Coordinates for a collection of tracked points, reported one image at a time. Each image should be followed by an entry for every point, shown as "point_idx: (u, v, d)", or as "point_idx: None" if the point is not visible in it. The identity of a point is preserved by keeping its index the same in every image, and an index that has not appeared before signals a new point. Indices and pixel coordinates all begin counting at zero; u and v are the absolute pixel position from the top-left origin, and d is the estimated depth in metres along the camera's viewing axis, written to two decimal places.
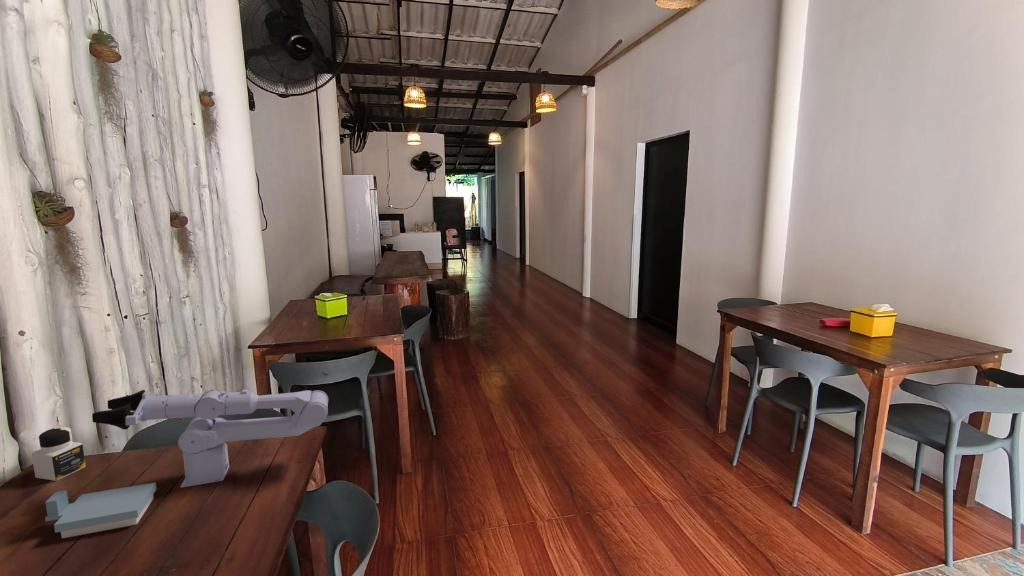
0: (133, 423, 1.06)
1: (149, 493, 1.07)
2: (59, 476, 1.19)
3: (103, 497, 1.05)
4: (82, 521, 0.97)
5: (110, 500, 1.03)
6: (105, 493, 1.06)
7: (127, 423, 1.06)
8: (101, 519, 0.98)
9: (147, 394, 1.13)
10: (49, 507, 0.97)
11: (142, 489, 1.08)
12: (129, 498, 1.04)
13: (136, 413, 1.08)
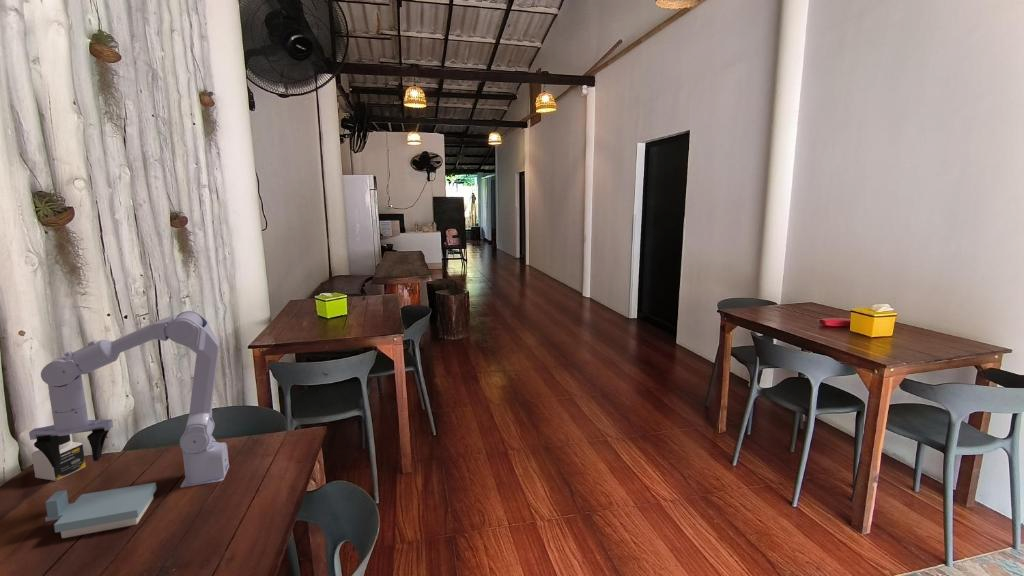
0: (112, 421, 1.10)
1: (149, 493, 1.07)
2: (59, 476, 1.19)
3: (103, 497, 1.05)
4: (82, 521, 0.97)
5: (110, 500, 1.03)
6: (105, 493, 1.06)
7: (112, 425, 1.10)
8: (101, 519, 0.98)
9: (62, 432, 1.03)
10: (49, 507, 0.97)
11: (142, 489, 1.08)
12: (129, 498, 1.04)
13: (100, 425, 1.08)
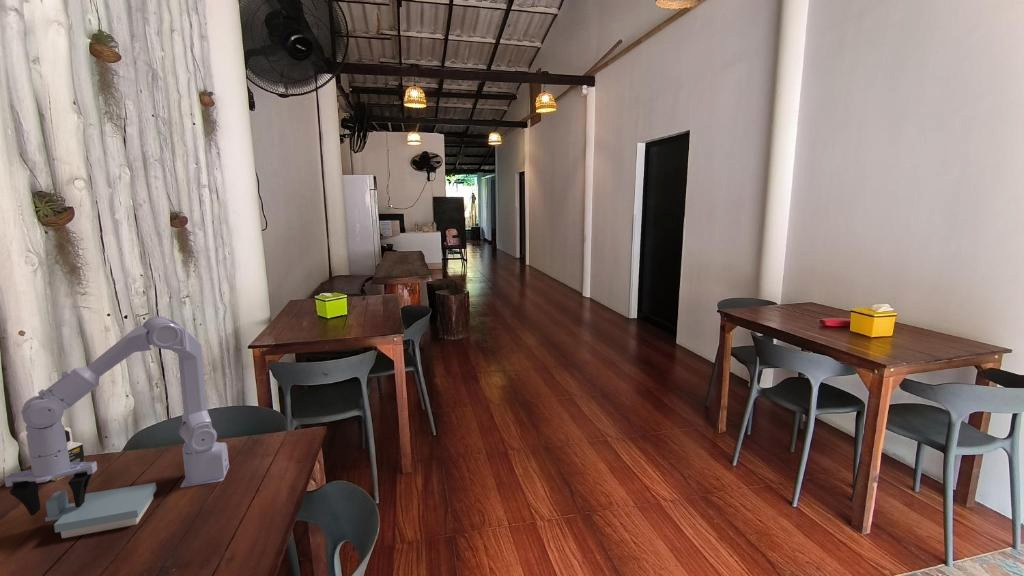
0: (95, 463, 1.02)
1: (149, 493, 1.07)
2: None
3: (103, 497, 1.05)
4: (82, 521, 0.97)
5: (110, 500, 1.03)
6: (105, 493, 1.06)
7: (96, 468, 1.02)
8: (101, 519, 0.98)
9: (40, 478, 0.95)
10: (49, 507, 0.97)
11: (142, 489, 1.08)
12: (129, 498, 1.04)
13: (83, 468, 0.99)
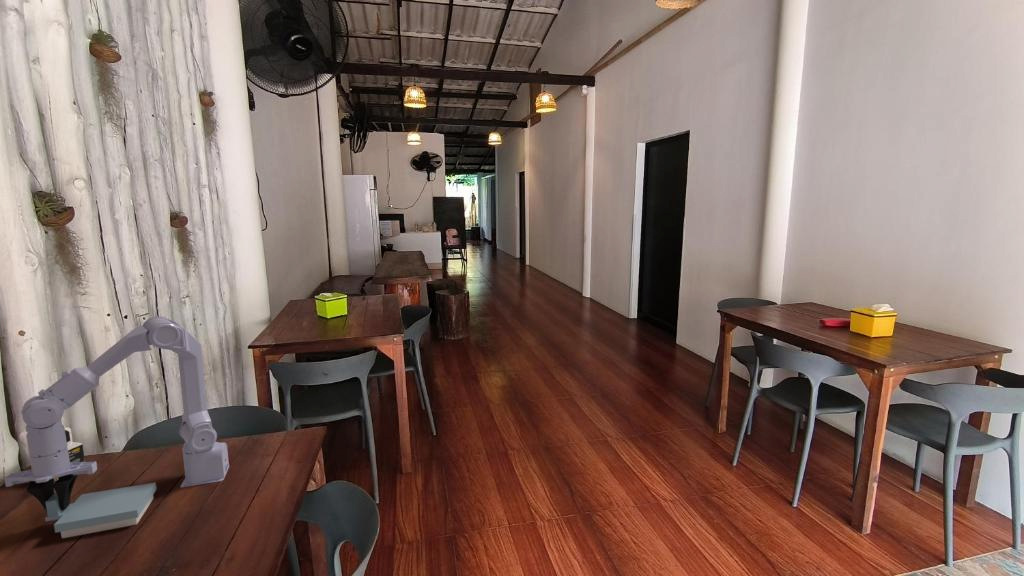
0: (95, 463, 1.02)
1: (149, 493, 1.07)
2: None
3: (103, 497, 1.05)
4: (82, 521, 0.97)
5: (110, 500, 1.03)
6: (105, 493, 1.06)
7: (96, 468, 1.02)
8: (101, 519, 0.98)
9: (40, 478, 0.95)
10: (49, 507, 0.97)
11: (142, 489, 1.08)
12: (129, 498, 1.04)
13: (83, 468, 0.99)
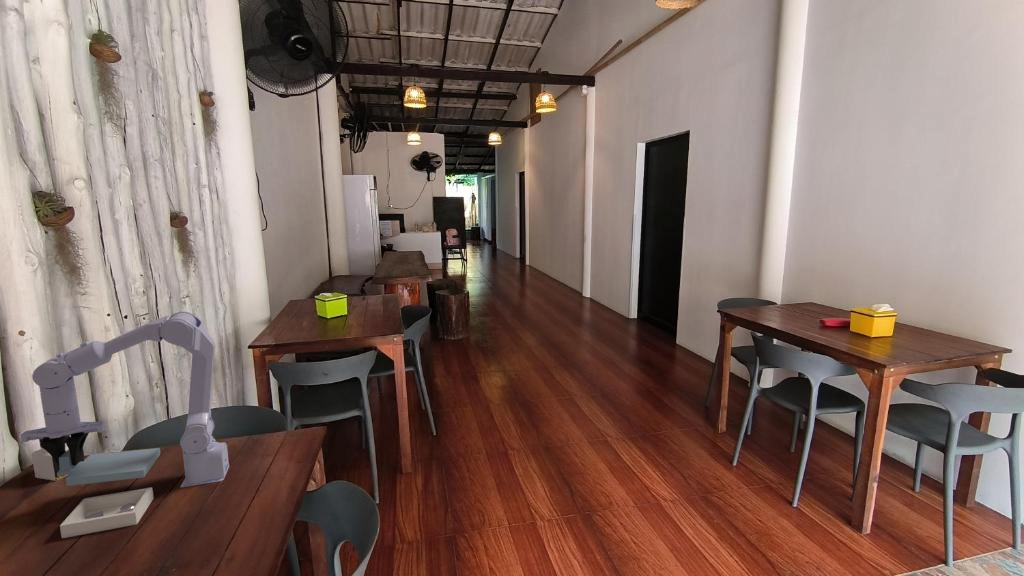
0: (104, 423, 1.09)
1: (154, 457, 1.14)
2: (59, 476, 1.19)
3: (110, 458, 1.12)
4: (92, 477, 1.04)
5: (117, 461, 1.11)
6: (112, 454, 1.13)
7: (105, 427, 1.09)
8: (110, 476, 1.05)
9: (54, 434, 1.02)
10: (61, 462, 1.05)
11: (147, 453, 1.15)
12: (135, 460, 1.12)
13: (93, 427, 1.07)
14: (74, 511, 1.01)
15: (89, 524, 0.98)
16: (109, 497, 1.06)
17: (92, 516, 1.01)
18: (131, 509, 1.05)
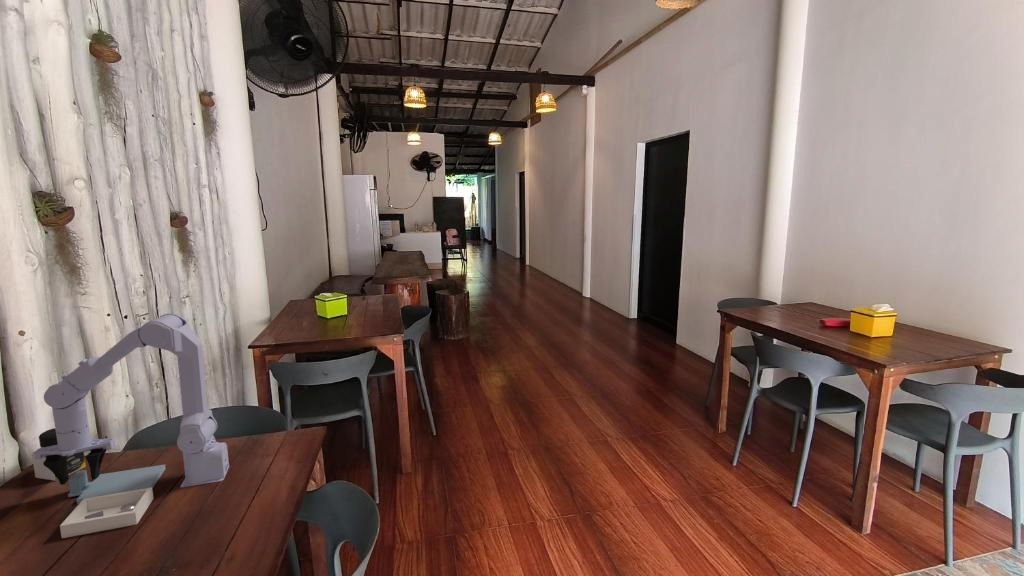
0: (113, 440, 1.14)
1: (159, 473, 1.19)
2: None
3: (118, 476, 1.17)
4: None
5: (125, 479, 1.16)
6: (120, 473, 1.18)
7: (114, 444, 1.14)
8: None
9: (65, 452, 1.07)
10: (71, 484, 1.10)
11: (153, 470, 1.20)
12: (142, 477, 1.17)
13: (102, 444, 1.12)
14: (74, 511, 1.01)
15: (89, 524, 0.98)
16: (109, 497, 1.06)
17: (92, 516, 1.01)
18: (131, 509, 1.05)
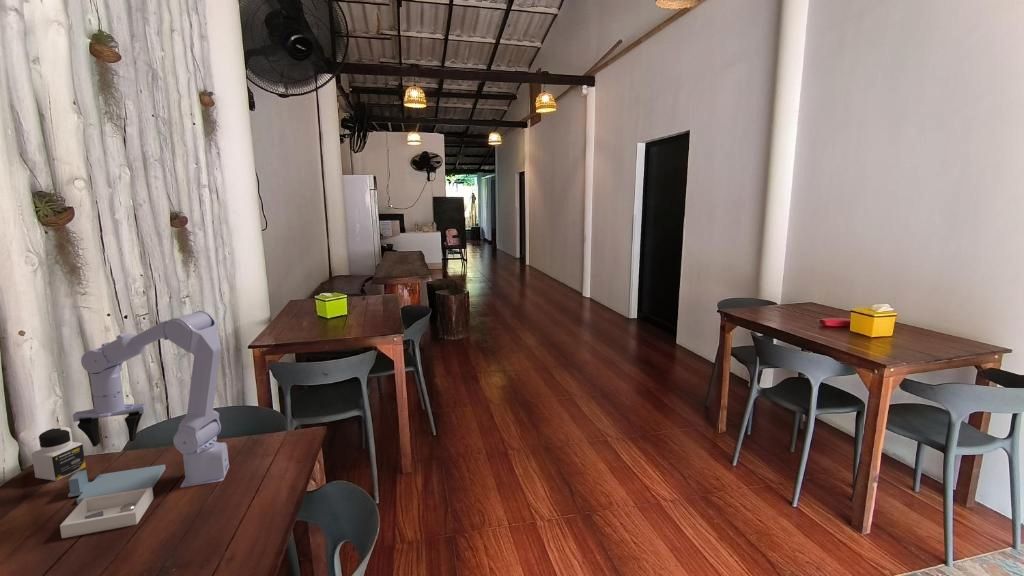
0: (145, 405, 1.21)
1: (159, 473, 1.19)
2: (59, 476, 1.19)
3: (118, 476, 1.17)
4: None
5: (125, 479, 1.16)
6: (120, 473, 1.18)
7: (146, 409, 1.21)
8: None
9: (102, 414, 1.14)
10: (71, 484, 1.10)
11: (153, 470, 1.20)
12: (142, 477, 1.17)
13: (136, 408, 1.19)
14: (74, 511, 1.01)
15: (89, 524, 0.98)
16: (109, 497, 1.06)
17: (92, 516, 1.01)
18: (131, 509, 1.05)
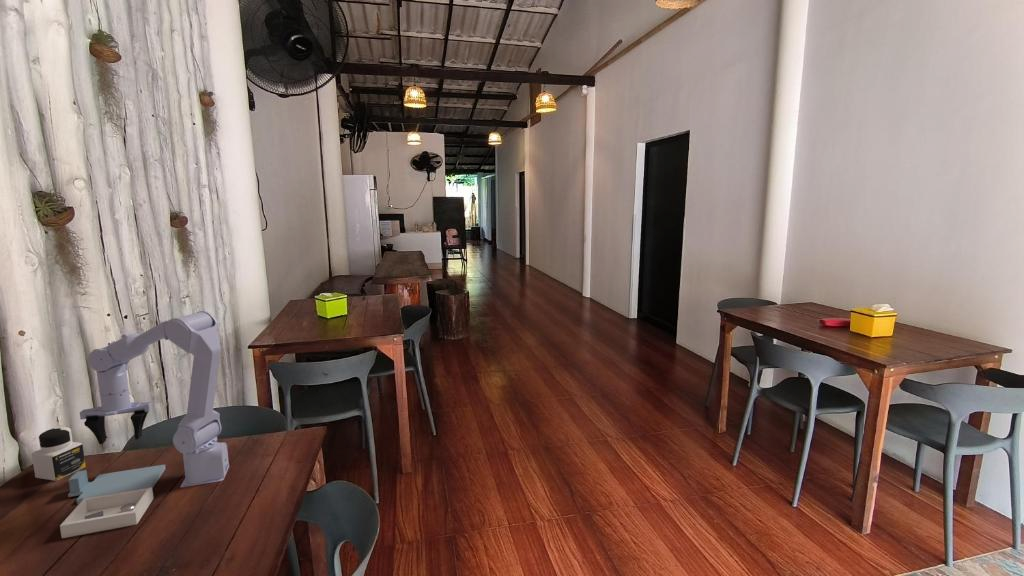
0: (151, 403, 1.22)
1: (159, 473, 1.19)
2: (59, 476, 1.19)
3: (118, 476, 1.17)
4: None
5: (125, 479, 1.16)
6: (120, 473, 1.18)
7: (151, 407, 1.22)
8: None
9: (109, 412, 1.16)
10: (71, 484, 1.10)
11: (153, 470, 1.20)
12: (142, 477, 1.17)
13: (141, 406, 1.20)
14: (74, 511, 1.01)
15: (89, 524, 0.98)
16: (109, 497, 1.06)
17: (92, 516, 1.01)
18: (131, 509, 1.05)
